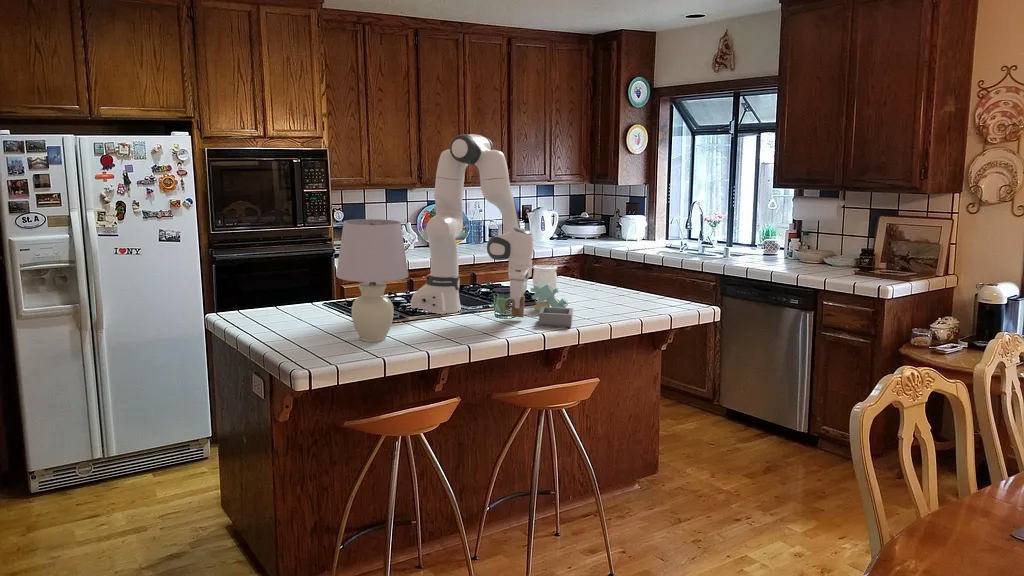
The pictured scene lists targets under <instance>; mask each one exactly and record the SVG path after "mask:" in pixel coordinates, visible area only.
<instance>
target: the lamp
mask: <svg viewBox="0 0 1024 576" xmlns="http://www.w3.org/2000/svg"><path fill="white" fill-rule="evenodd" d="M404 243H405V242H404V236H403V231H402V222H401V221H398V220H392V219H381V218H380V219H376V218H375V219H374V218H372V219H371V218H370V219H369V218H367V219H366V218H365V219H349V220H348V219H347V220H344V221H343V223H342V232H341V239H340V246H339V252H338V260H337V267H336V274H335V276H336V278H338V279H340V280H344V281H348V282H359V285H358V288H359V291H360V294H361V295H360V296H357V298H355V300H354V301H353V303H352V305H351V319H352V323H353V326H354V328H355V331H356V333H357V335H358V336H359V339H360V341H362V342H367V343H376V342H377V343H378V342H384V341H385V340H386V339H387V335H388V334H389V331H390V329H391V327H392V324H393V320H394V314H395V313H394V312H395V311H394V309H395V308H394V304H393V302H392V301H391V299H390V298H389V297H387V296H386V295H385V294H384V293H385V292H386V291H385V290H386V288H387V284H386V283H385V282H397V281H402V280H406V279H407V278H409V270H408V269H409V268H408V264H407V263H408V262H407V257H406V256H407V255H406V251H405V244H404Z"/></svg>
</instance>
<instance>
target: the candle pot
mask: <svg viewBox="0 0 1024 576" xmlns="http://www.w3.org/2000/svg"><path fill="white" fill-rule="evenodd" d="M573 313H574V308H572V307H566V308H557V307H551V306H550V307H542V308H541V310H540V311H539V314H538V327H542V326H556V327H555V328H560V327H571V328H572V325H573V316H574V314H573Z"/></svg>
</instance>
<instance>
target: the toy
mask: <svg viewBox="0 0 1024 576" xmlns="http://www.w3.org/2000/svg"><path fill="white" fill-rule="evenodd" d="M530 292H531V293H532V292H533V293H534V292H536V295H535V294H533V295H531V299H532V300H534V301H535V304H534V305H533V309H534V310H536V312H540V310H541V308H542V307H557V308H567V307H568V305H569V304H570V302H569V301H568V300H567V299H566V298H564V297H562V298H560V300H559V299H558V298H557V297H556V296H555V294H558V293H559V292H560V290H559V289H558V287H557V286H556V288H555V289H553V287H552V285H551V284H550V282H549V283H547V284H545V285H543V286H538V285H534V287H531V288H530ZM539 296H540V298H539V299H538V300H537V301H536V300H535V298H537V297H539ZM544 300H547V301H545V302H541V301H544Z"/></svg>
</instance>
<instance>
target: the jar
mask: <svg viewBox="0 0 1024 576" xmlns="http://www.w3.org/2000/svg"><path fill="white" fill-rule="evenodd" d="M532 269H534V271H533V274H532V275H533V276H532V288H534V285H538V286H543V285H545V284H547V283H549V282H550V284H551V285H552V287H553V289H555V288H556V287H557V282H558V279H557V278H558V276H557V270H558V266H556V265H551V264H535V265H532ZM533 293H534V295H536V292H533ZM539 298H540V296H539V297H537V298H534V300H535V299H536V300H538V299H539ZM536 300H535V301H536ZM545 301H547V300H544V301H541V302H545Z"/></svg>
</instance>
